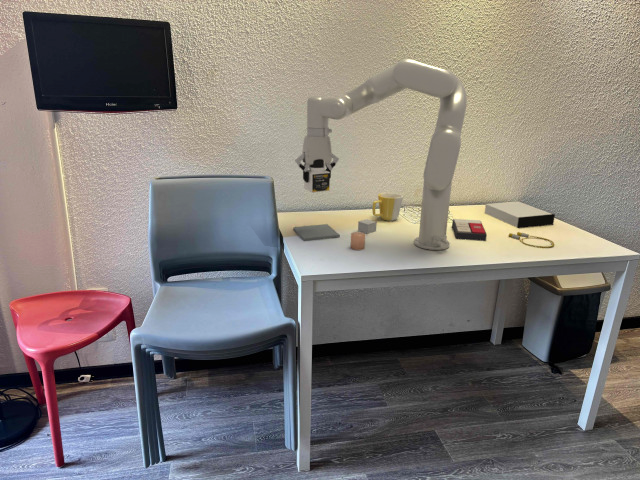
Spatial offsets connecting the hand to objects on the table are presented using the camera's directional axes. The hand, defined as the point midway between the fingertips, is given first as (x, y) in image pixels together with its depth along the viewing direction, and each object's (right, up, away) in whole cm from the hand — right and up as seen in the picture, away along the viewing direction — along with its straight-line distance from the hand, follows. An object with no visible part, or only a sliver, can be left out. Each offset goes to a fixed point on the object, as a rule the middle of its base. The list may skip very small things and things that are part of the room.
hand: (316, 180), depth 182 cm
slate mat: (0, -19, +7) cm, 20 cm away
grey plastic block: (+20, -19, +11) cm, 29 cm away
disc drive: (+86, -13, +30) cm, 92 cm away
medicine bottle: (0, -3, +1) cm, 4 cm away
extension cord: (+81, -23, +3) cm, 84 cm away
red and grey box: (+59, -20, +10) cm, 63 cm away
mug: (+29, -13, +26) cm, 41 cm away
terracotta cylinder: (+14, -25, -7) cm, 29 cm away
